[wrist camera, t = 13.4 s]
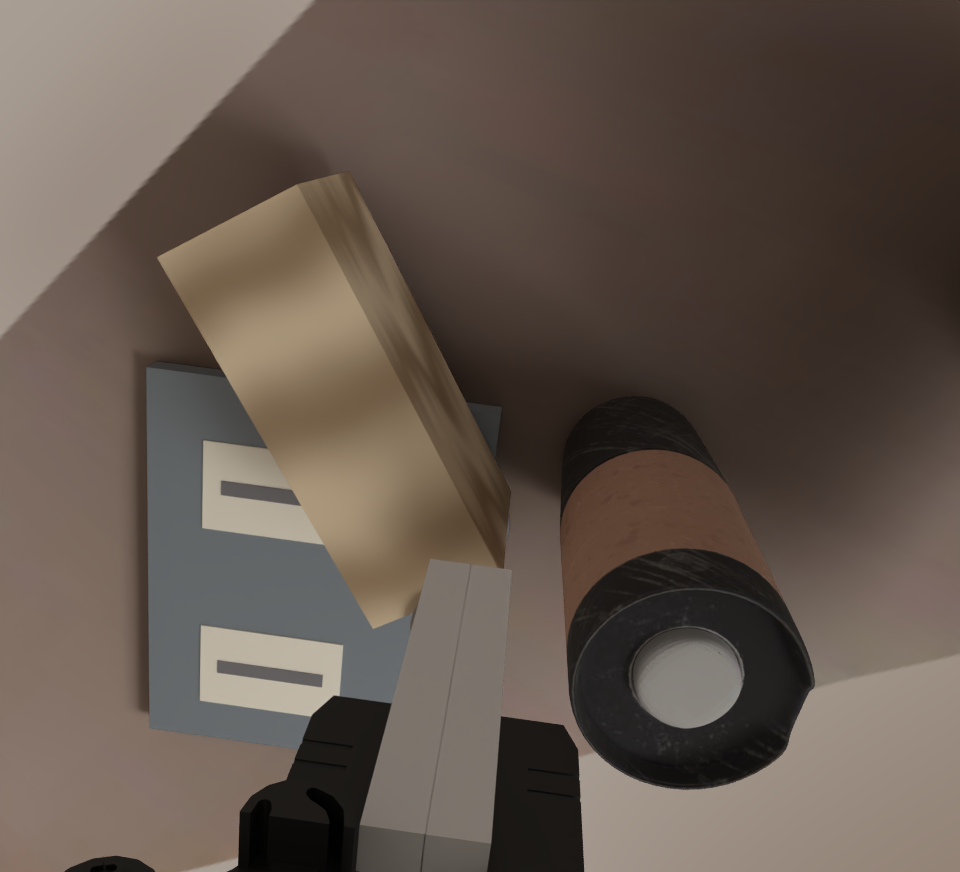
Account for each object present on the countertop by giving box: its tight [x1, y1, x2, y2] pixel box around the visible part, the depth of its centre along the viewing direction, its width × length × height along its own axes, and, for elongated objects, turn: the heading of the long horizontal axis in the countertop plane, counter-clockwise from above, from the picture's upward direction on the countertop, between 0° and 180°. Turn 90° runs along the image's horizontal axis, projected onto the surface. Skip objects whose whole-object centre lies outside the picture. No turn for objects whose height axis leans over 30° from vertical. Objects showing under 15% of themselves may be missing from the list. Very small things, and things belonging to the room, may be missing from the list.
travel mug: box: [560, 397, 815, 790], centre depth 37 cm, size 8×8×20 cm
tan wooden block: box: [157, 171, 511, 630], centre depth 39 cm, size 20×6×9 cm, turn 26°
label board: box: [146, 361, 510, 749], centre depth 49 cm, size 19×22×2 cm
